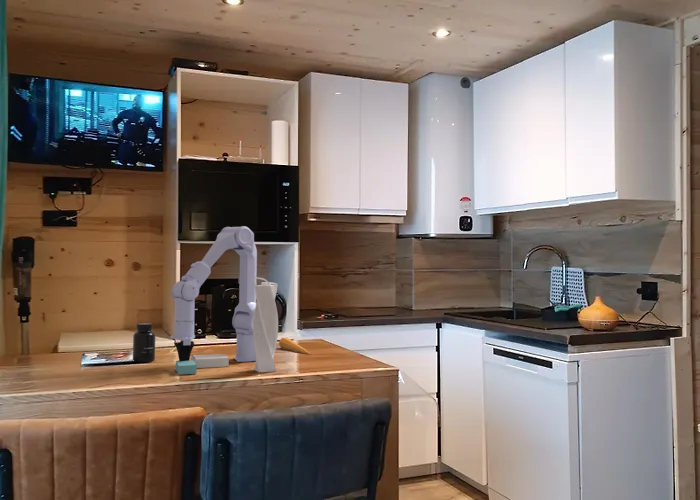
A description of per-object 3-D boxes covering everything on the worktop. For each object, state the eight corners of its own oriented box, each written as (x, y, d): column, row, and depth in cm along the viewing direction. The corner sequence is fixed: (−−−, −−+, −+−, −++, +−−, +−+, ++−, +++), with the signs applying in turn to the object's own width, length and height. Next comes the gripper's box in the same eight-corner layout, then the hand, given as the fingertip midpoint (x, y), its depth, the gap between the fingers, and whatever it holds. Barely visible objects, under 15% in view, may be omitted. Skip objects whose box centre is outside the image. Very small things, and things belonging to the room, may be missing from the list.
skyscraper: (255, 373, 181) (256, 277, 181) (247, 369, 187) (248, 276, 188) (281, 371, 185) (282, 277, 185) (272, 367, 191) (273, 276, 191)
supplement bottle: (148, 363, 196) (148, 325, 196) (128, 362, 198) (128, 324, 198) (159, 359, 203) (159, 322, 203) (139, 358, 204) (140, 322, 204)
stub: (193, 368, 187) (193, 360, 187) (196, 373, 179) (196, 364, 179) (175, 369, 185) (175, 361, 185) (178, 374, 177) (178, 365, 177)
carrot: (278, 350, 231) (275, 339, 229) (288, 344, 233) (285, 334, 232) (308, 363, 215) (305, 352, 214) (318, 357, 217) (315, 346, 216)
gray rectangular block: (224, 362, 200) (224, 353, 200) (228, 366, 192) (228, 357, 192) (190, 363, 196) (191, 354, 196) (194, 368, 188) (194, 359, 188)
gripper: (168, 318, 192) (168, 362, 192) (173, 323, 179) (172, 371, 179) (192, 318, 195) (191, 361, 195) (198, 323, 181) (197, 369, 181)
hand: (184, 366), depth 187 cm, fingers closed
